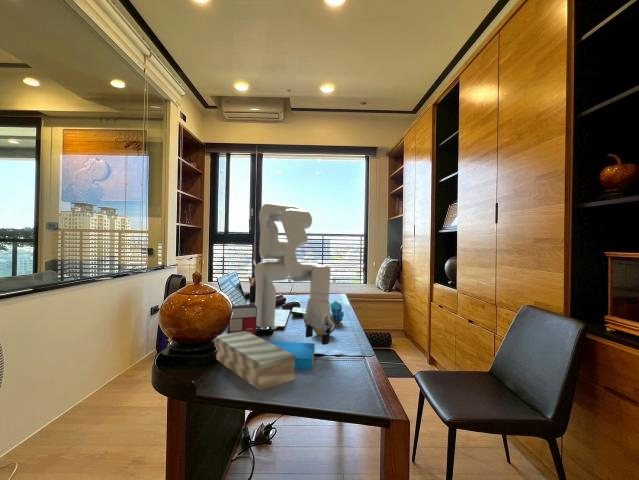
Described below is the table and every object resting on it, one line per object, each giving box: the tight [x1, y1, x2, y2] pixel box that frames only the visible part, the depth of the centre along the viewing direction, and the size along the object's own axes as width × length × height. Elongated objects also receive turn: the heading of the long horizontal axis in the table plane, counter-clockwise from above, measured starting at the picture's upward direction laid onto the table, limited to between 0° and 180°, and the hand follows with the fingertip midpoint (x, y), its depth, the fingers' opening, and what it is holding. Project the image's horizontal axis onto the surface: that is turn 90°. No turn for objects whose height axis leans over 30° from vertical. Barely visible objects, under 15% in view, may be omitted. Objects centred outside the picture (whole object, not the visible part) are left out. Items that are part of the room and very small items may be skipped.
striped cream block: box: [214, 331, 296, 391], centre depth 104 cm, size 31×12×8 cm, turn 41°
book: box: [266, 340, 315, 371], centre depth 113 cm, size 17×4×25 cm
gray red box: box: [226, 304, 257, 336], centre depth 128 cm, size 11×4×15 cm, turn 114°
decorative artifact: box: [313, 315, 336, 337], centre depth 145 cm, size 10×7×10 cm
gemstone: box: [330, 300, 345, 328], centre depth 162 cm, size 7×9×12 cm
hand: (317, 340), depth 124 cm, fingers open, 9 cm apart
